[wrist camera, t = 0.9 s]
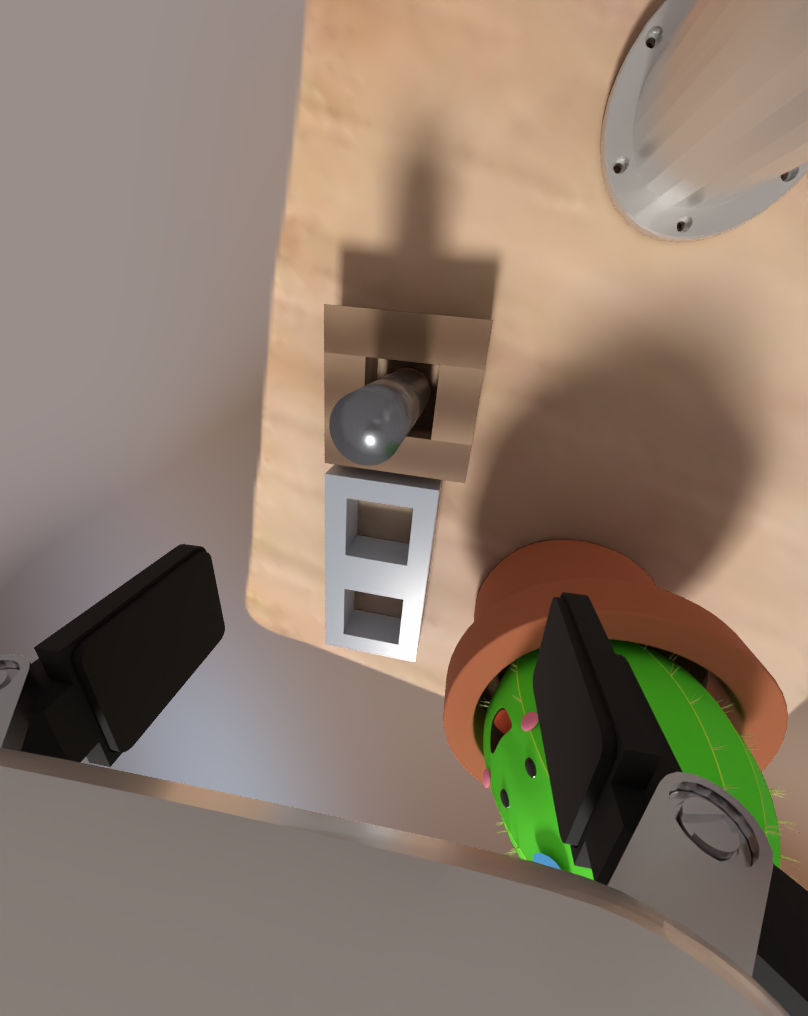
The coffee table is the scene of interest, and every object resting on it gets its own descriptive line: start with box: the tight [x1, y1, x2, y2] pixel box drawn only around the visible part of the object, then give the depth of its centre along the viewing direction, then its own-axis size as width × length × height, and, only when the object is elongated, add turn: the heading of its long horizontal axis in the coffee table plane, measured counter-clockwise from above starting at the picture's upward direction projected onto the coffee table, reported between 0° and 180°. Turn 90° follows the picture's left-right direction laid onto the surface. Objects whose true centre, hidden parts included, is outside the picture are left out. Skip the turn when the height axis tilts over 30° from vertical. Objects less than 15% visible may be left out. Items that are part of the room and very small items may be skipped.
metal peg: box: [329, 368, 431, 466], centre depth 26 cm, size 4×4×14 cm
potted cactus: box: [443, 540, 793, 880], centre depth 28 cm, size 22×22×25 cm
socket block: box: [324, 304, 493, 483], centre depth 31 cm, size 12×12×4 cm
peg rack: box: [325, 464, 442, 662], centre depth 38 cm, size 20×10×4 cm, turn 175°
